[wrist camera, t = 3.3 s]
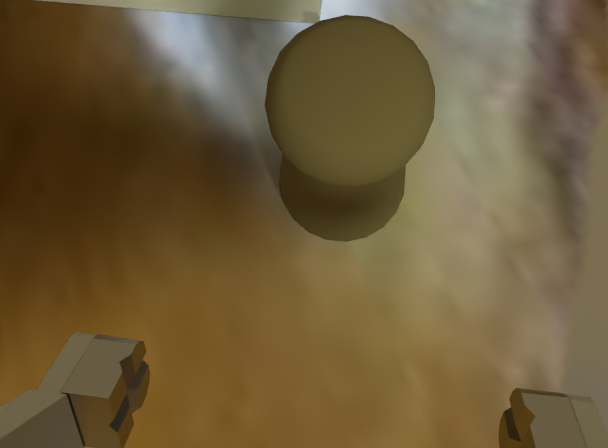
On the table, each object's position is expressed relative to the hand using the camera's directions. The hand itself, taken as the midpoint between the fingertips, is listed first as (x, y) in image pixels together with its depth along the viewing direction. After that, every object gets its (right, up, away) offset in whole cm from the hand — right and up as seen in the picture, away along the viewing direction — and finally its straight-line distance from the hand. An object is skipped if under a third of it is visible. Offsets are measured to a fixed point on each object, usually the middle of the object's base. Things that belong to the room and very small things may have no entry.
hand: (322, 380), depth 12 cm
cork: (+1, +6, +14) cm, 15 cm away
